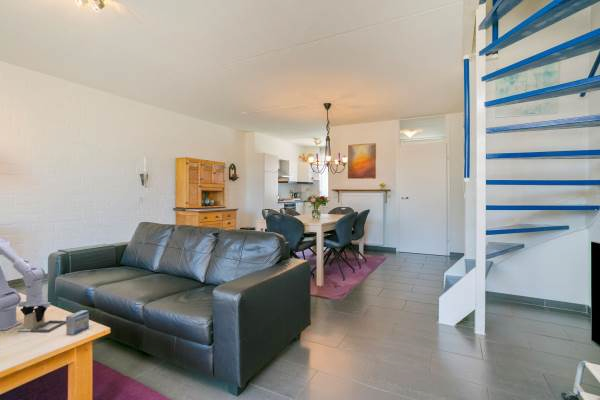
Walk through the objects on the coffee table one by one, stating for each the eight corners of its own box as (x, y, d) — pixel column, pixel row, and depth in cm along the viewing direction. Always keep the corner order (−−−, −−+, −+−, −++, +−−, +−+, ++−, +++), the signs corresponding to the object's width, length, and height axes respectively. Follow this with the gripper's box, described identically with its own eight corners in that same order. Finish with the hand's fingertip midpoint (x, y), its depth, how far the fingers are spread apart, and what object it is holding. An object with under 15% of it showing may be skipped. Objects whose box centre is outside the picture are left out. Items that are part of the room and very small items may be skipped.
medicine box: (73, 335, 135) (73, 317, 135) (65, 334, 136) (65, 316, 136) (89, 327, 143) (89, 310, 143) (81, 327, 144) (81, 309, 144)
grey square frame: (30, 332, 138) (30, 329, 138) (50, 322, 148) (50, 320, 148) (48, 332, 138) (48, 329, 138) (66, 323, 148) (66, 320, 148)
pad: (17, 331, 139) (17, 330, 139) (37, 322, 149) (37, 321, 149) (29, 332, 138) (29, 331, 138) (48, 322, 148) (48, 321, 148)
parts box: (24, 328, 140) (24, 315, 140) (35, 322, 146) (35, 310, 146) (33, 328, 140) (33, 315, 140) (44, 322, 146) (44, 310, 146)
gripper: (11, 296, 139) (12, 324, 140) (40, 296, 139) (41, 324, 139) (26, 291, 146) (26, 318, 147) (53, 291, 146) (54, 318, 146)
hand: (34, 321), depth 143 cm, fingers closed on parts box, 4 cm apart
